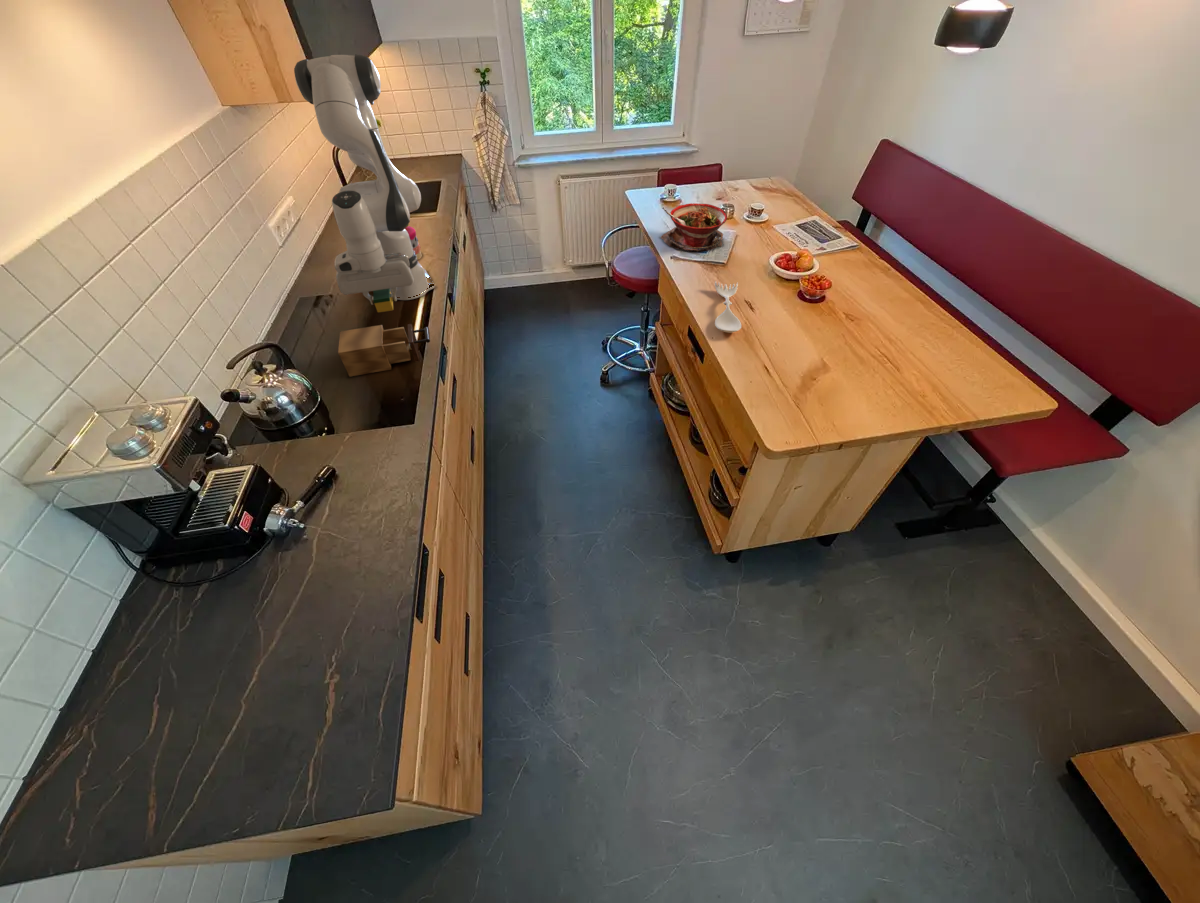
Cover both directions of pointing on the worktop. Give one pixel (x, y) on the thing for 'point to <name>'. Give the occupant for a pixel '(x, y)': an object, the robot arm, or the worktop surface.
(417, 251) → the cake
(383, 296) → the sponge
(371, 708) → the worktop surface
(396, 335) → the drawer
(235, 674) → the worktop surface
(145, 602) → the worktop surface
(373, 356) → the cabinet
